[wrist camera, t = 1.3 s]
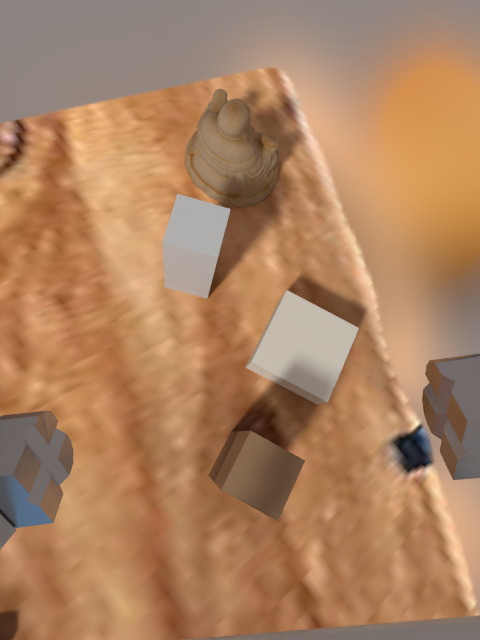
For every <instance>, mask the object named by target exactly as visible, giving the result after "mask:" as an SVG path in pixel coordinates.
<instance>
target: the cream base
mask: <svg viewBox="0 0 480 640" xmlns="http://www.w3.org/2000/svg"><path fill="white" fill-rule="evenodd" d="M358 330H359V328H358V327H356V326H354V325H352V324H350V323H348V322H346V321H345V320H343V319H341V318H339V317H337V316H335V315H333V314H331V313H329V312H328V311H326V310H324V309H322V308H320V307H318V306H316V305H314V304H312V303H310V302H309V301H307V300H305V299H303V298H301V297H299V296H297V295H295V294H293V293H292V292H290V291H288V290H286V292H285V293H284V294H283V295H282V297H281V298H280V299H279V301H278V303H277V305H276V307H275V309H274V311H273V313H272V315H271V317H270V319H269V321H268V323H267V325H266V327H265V329H264V331H263V333H262V335H261V337H260V339H259V341H258V343H257V345H256V347H255V349H254V351H253V353H252V355H251V357H250V359H249V361H248V363H247V365H246V368H248V369H250V370H252V371H254V372H256V373H258V374H259V375H261V376H263V377H265V378H267V379H269V380H271V381H273V382H275V383H277V384H279V385H280V386H282V387H284V388H286V389H288V390H290V391H292V392H294V393H296V394H298V395H300V396H302V397H303V398H305V399H307V400H309V401H311V402H313V403H315V404H321V403H326V402H328V401H329V398H330V396H331V394H332V391H333V389H334V386H335V384H336V382H337V379H338V377H339V375H340V372H341V370H342V368H343V365H344V363H345V360H346V358H347V356H348V353H349V351H350V349H351V346H352V344H353V341H354V339H355V337H356V334H357V332H358Z"/></svg>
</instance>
